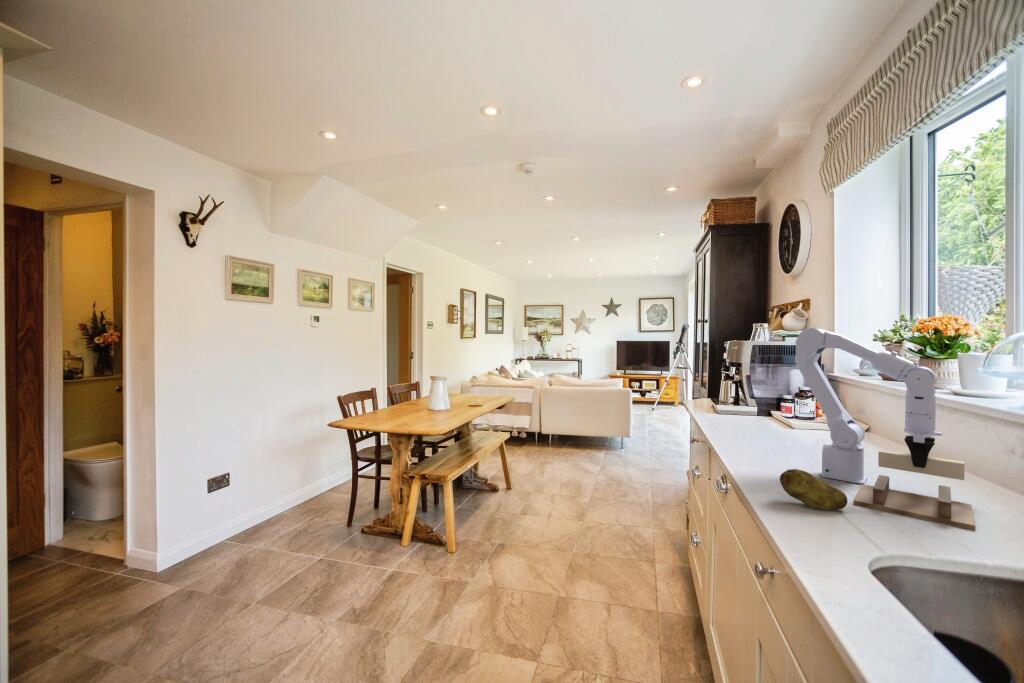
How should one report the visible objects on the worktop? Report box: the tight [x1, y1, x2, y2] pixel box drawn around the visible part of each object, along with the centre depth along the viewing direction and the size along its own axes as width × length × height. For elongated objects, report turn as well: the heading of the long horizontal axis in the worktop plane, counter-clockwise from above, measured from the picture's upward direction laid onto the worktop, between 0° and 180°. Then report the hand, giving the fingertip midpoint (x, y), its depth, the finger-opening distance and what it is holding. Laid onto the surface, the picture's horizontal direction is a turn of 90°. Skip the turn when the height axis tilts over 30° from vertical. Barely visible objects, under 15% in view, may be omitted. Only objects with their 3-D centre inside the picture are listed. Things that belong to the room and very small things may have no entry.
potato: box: [779, 468, 848, 511], centre depth 103 cm, size 8×13×8 cm, turn 40°
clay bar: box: [877, 449, 965, 481], centre depth 112 cm, size 16×3×4 cm, turn 45°
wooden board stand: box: [853, 474, 976, 531], centre depth 102 cm, size 20×16×4 cm
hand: (919, 465), depth 112 cm, fingers closed on clay bar, 3 cm apart
